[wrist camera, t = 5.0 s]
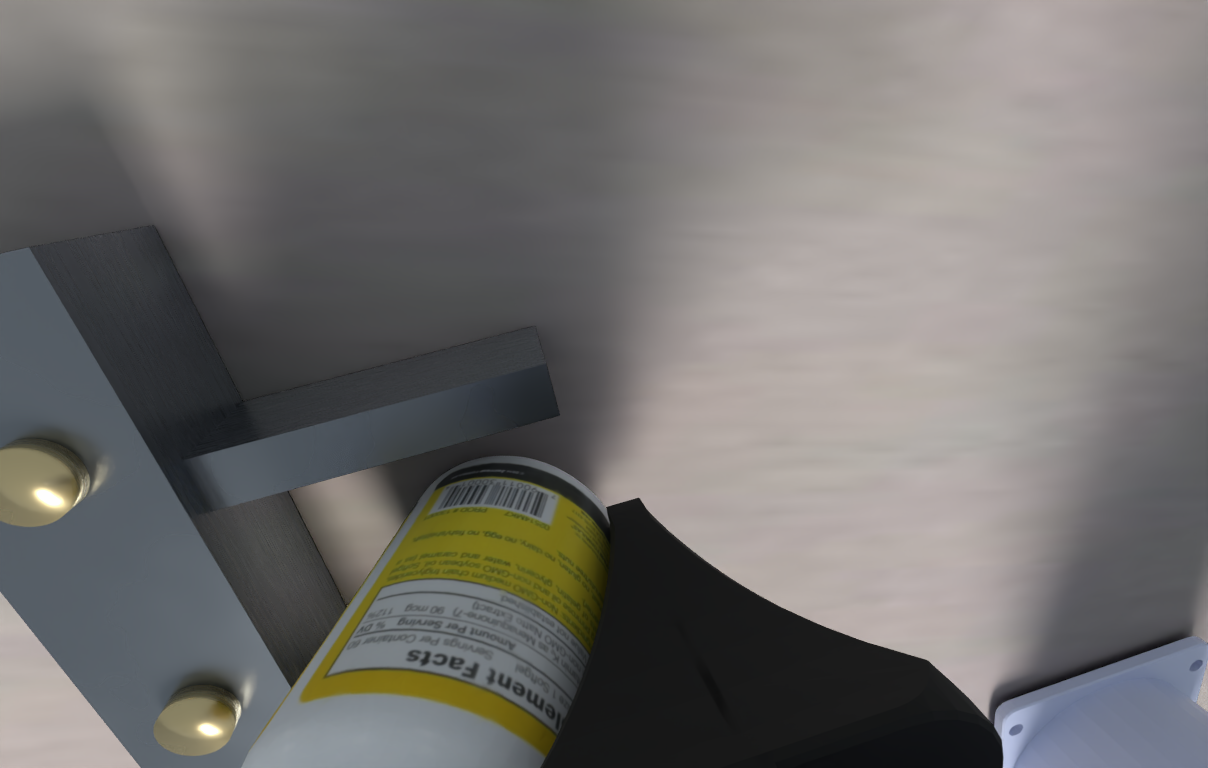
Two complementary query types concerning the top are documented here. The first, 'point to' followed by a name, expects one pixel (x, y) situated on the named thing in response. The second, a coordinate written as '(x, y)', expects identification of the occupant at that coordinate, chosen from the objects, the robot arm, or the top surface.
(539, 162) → the top surface
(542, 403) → the block
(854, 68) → the top surface
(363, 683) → the supplement bottle
